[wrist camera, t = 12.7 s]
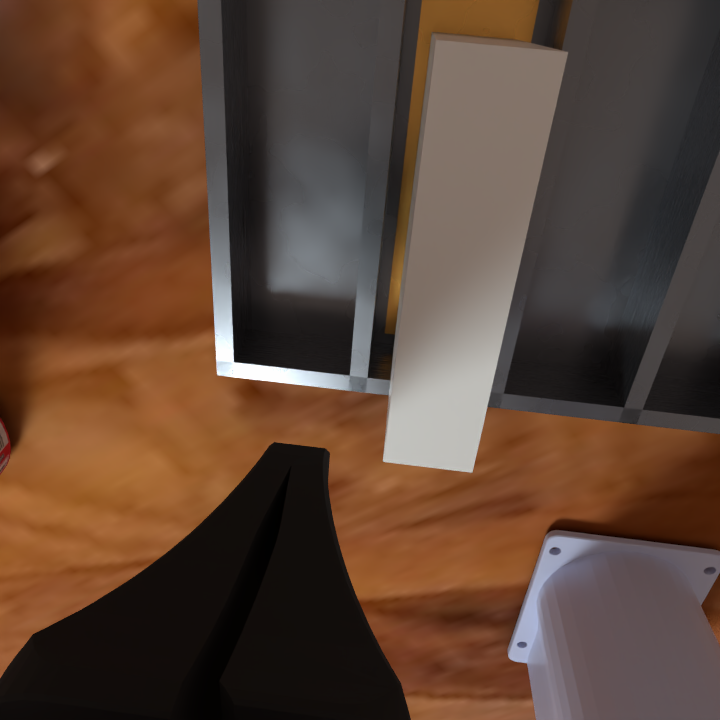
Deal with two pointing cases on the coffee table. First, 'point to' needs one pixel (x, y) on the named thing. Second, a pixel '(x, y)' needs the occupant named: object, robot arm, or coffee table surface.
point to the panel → (465, 238)
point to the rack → (395, 183)
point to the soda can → (4, 447)
